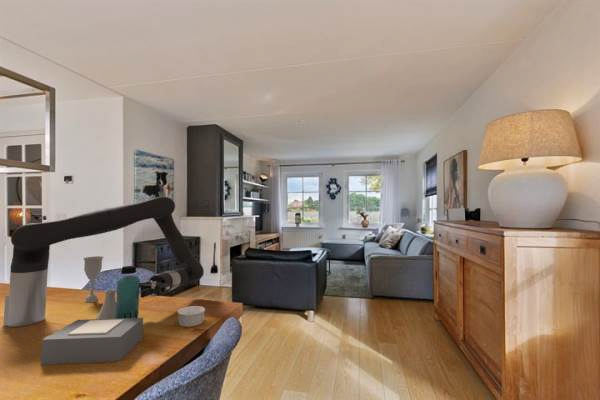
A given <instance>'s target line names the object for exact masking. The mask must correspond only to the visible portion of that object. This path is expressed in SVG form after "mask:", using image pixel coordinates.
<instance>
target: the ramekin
mask: <svg viewBox="0 0 600 400" xmlns="http://www.w3.org/2000/svg"><path fill="white" fill-rule="evenodd" d="M205 312H206V308H205V307H203V306H200V305H199V306H198V305H191V306H185V307H182V308H179V310H177V318H178V325H179V326H181V327H184V328H187V327H188V328H189V327H191V326H192V327H196V326H198V325H199V326H200V325H201V324H203V322H204V319H205Z"/></svg>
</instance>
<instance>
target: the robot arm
mask: <svg viewBox="0 0 600 400" xmlns="http://www.w3.org/2000/svg"><path fill="white" fill-rule="evenodd" d="M175 209H176V203H175V201H174V200H173V199H172V198H170V197H167V196H158V197H157V196H156V197H154V198H152V199H148V200H145V201H141V202H137V203H131V204H123V205H117V206H111V207H106V208H101V209H96V210H91V211H87V212H84V213H81V214H77V215H75V216H72V217H68V218H65V219H60V220H51V221H46V222H38V223H37V222H33V223H32V222H30V223H25V224H22V225H20V226H19V227H17V228H15V230H14V231H13V232H12V233H11V236H10V241H11V245H12V246H13V248H12V249H13V250H12V259H11V263H10V273H9V288H8V294H7V295H4V308H3V309H4V310H3V324H2V325H3V326H7V327H10V328H19V327H25V326H29V325H30V326H31V325H34V324H36V323H40V322H42V321H44V320H45V319H46V305H47V291H48V274H49V273H48V271H49V269H48V268H49V263H50V262H49V260H50V248H51V247H50V246H52V245H55V244H57V243H61V242H64V241H68V240H73V239H77V238H85V237H91V236H97V235H100V234H105V233H106V234H107V233H109V232H114V231H118V230H120V229H123V228H127V227H128V226H131V225H133V224H136V223H139V222H142V221H145V220H151V219H153V220H154V221H155V222H156V224H157V225H158V227H159V229H160V231H161V232H162V234H163V237H164V238H165V240H166V242H167V244H168V246H169V249H170V251H171V254H172V256H173V258H174V260H175V261H176V263H177V264H186V265H187V266H185V267H184V268H177V269H173V270H167V271H163V272H160V273H157V274H154V275H152V276H151V277H150V278H149V280H145V281H141V280H139V290H140V291H139V294H140V298H146V297H149V296H154V295H155V296H160V295H163V294H165V293H168V292H171V291H172V290H174V289H177V288H180V287H182V286H184V285H188V284H190V283H193V282H195V281H197V280H200V279H202V278H203V276H204V274H205V273H204V272H205V269H204V267H203V265H202V264H201V262H200V261H198V259H197V258H196V257H195V255H194V254H193V253H192V251H191V249H190V246H189V244H188V243H187V241H186V238H185V237H184V236H183V234H182V233H181V232H180V230H179V229H178V227H177V225H176V223H175V221H174V218H173V213H174V211H175Z"/></svg>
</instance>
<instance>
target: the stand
mask: <svg viewBox="0 0 600 400" xmlns="http://www.w3.org/2000/svg"><path fill="white" fill-rule="evenodd" d="M143 327H144V317H138V318H120V319H96V318H94V319H93V318H92V319H91V318H89V319H76V320H75V321H72V322H71V323H69V324H68V325H66V326H64V327H62V328H61V329H59V330H57V331H55V332H53V333H51V334H49V335H47V336H45V337H44V338H43V339H41V352H40V353H41V354H40V366H43V365H64V364H65V365H66V364H69V365H70V364H85V363H86V364H88V363H107V362H108V363H109V362H110V363H111V362H120V361H122V359H123V358H125V356H126V355H127V354H128V353H130V351H132V350H133V348H134V347H135V346H137V344H139V342H140V341H142V340H143V333H144V332H143V331H144V329H143Z"/></svg>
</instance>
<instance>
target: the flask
mask: <svg viewBox="0 0 600 400" xmlns="http://www.w3.org/2000/svg"><path fill="white" fill-rule="evenodd" d="M103 292H104V295H105V296H104V300H103V304H102V306H101V308H100V310H99V312H98V314H97V316H96V318H95V319H116V317H115V316H116V311H115V310H116V303H117V299H116V293H117V289H107V290H104V291H103Z"/></svg>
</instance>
